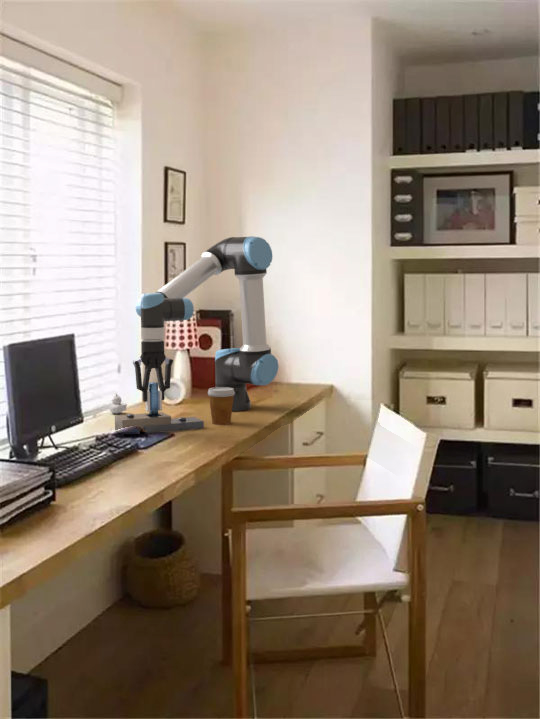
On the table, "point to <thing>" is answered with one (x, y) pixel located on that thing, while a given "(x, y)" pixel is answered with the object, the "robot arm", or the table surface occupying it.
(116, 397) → the rubber duck
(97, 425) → the table surface
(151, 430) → the grey fixture block
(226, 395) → the disposable coffee cup
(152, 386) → the pin
